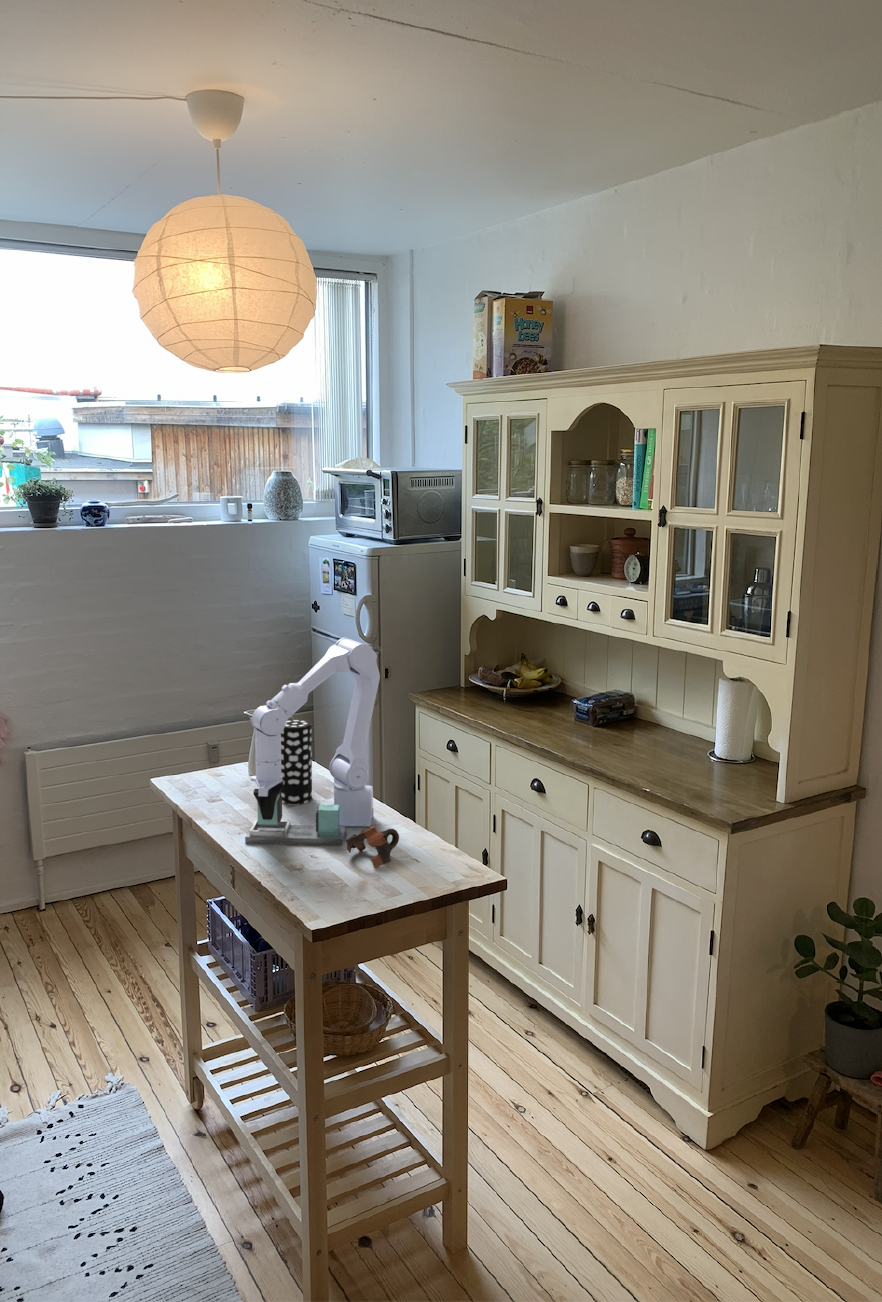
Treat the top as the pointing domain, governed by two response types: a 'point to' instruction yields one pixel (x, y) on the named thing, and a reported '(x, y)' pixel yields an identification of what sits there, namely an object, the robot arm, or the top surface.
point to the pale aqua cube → (276, 815)
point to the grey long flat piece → (302, 830)
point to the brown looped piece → (374, 843)
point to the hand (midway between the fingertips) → (269, 815)
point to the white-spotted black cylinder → (296, 762)
